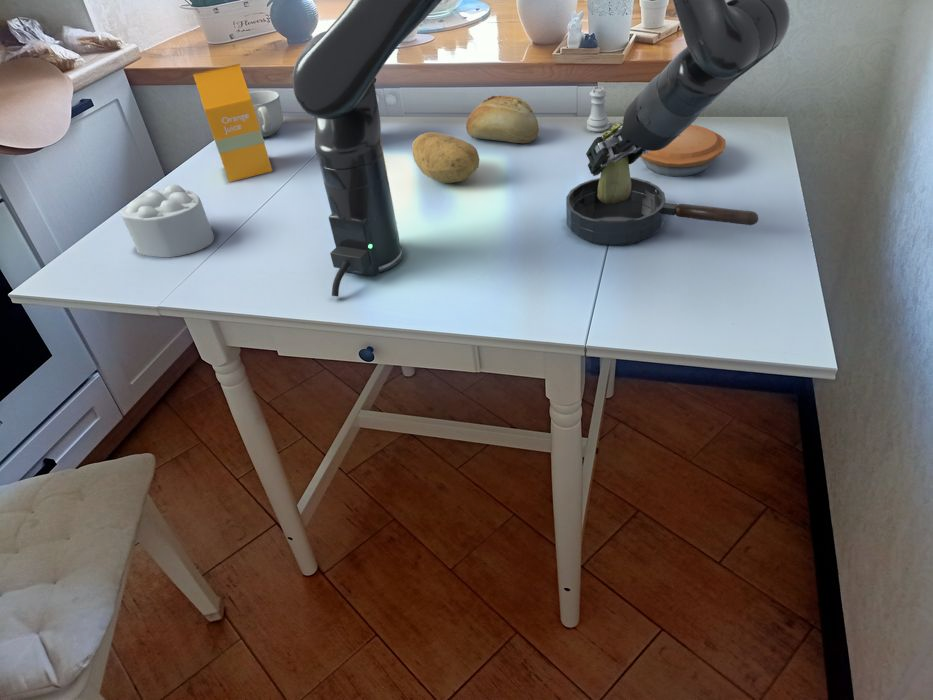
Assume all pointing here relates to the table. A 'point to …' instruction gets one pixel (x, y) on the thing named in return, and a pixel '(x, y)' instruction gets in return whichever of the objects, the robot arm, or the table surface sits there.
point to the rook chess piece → (598, 111)
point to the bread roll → (503, 120)
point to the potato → (445, 157)
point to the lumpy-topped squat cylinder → (167, 222)
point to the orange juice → (233, 122)
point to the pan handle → (711, 213)
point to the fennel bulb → (614, 177)
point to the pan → (615, 213)
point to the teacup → (267, 111)
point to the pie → (686, 153)
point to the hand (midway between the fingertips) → (610, 163)
